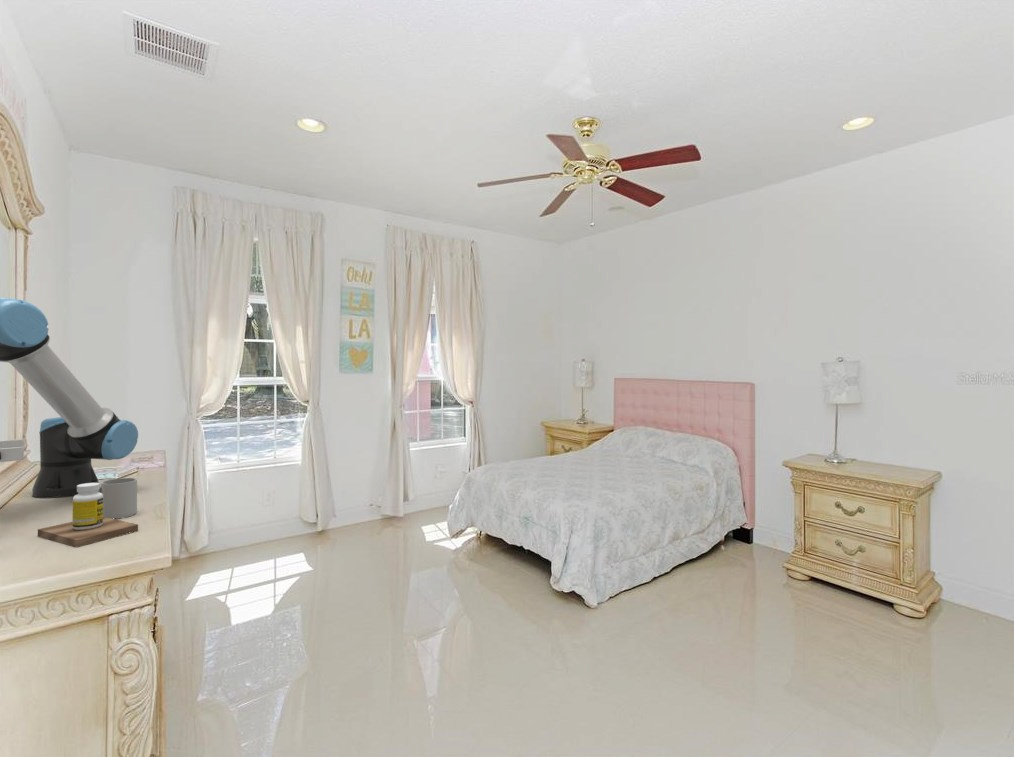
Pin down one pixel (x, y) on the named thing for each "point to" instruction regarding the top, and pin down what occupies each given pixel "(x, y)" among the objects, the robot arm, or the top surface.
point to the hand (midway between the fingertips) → (24, 448)
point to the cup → (119, 497)
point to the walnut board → (87, 532)
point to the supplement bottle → (87, 507)
